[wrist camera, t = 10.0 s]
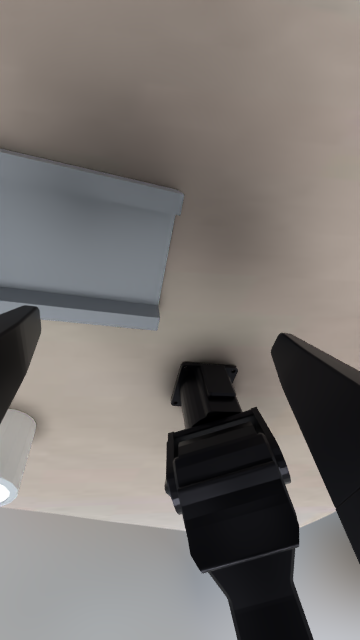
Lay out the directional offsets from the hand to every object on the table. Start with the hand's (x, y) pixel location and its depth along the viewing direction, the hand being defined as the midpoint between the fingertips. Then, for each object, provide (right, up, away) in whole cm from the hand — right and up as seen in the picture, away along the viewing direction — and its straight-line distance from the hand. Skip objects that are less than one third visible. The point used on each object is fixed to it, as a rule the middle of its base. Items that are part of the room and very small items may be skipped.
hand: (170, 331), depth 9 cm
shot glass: (-19, -11, +19) cm, 29 cm away
